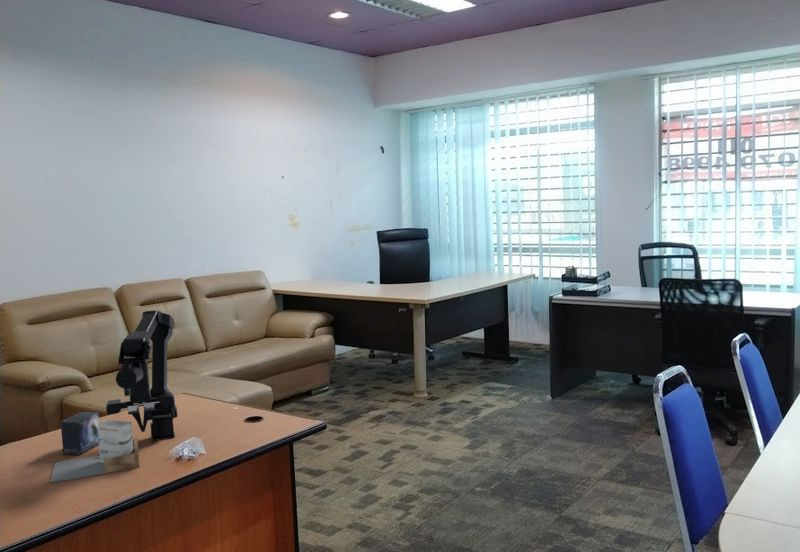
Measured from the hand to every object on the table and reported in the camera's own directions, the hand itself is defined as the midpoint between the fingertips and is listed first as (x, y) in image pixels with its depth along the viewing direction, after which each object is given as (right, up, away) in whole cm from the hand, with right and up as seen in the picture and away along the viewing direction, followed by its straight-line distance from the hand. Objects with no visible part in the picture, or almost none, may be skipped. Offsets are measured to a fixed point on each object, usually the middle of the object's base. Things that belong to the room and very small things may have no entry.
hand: (143, 431), depth 210 cm
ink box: (-7, -9, -2) cm, 11 cm away
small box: (-23, -8, +11) cm, 27 cm away
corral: (-6, -9, -2) cm, 11 cm away
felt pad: (-16, -9, -6) cm, 20 cm away
